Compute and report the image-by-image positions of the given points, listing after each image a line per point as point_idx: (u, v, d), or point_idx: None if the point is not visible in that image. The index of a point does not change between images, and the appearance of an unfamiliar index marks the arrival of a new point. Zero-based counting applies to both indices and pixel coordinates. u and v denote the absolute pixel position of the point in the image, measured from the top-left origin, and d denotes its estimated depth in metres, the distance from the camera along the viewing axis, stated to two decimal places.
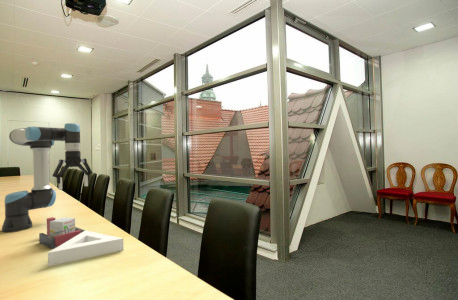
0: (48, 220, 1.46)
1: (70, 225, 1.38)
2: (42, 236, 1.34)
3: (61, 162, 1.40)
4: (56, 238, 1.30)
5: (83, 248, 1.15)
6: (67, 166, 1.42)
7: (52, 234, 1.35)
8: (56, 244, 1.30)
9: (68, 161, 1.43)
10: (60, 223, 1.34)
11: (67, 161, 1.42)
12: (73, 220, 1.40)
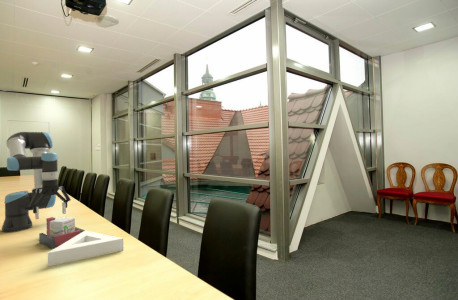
0: (48, 220, 1.46)
1: (70, 224, 1.38)
2: (42, 236, 1.34)
3: (37, 192, 1.41)
4: (56, 238, 1.30)
5: (83, 248, 1.15)
6: (44, 195, 1.43)
7: (51, 234, 1.35)
8: (56, 244, 1.30)
9: (45, 190, 1.44)
10: (60, 223, 1.34)
11: (44, 190, 1.44)
12: (73, 220, 1.40)
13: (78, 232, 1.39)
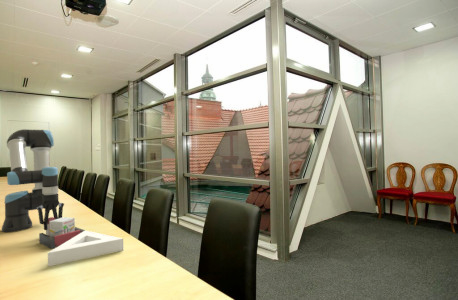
0: (48, 220, 1.46)
1: (70, 224, 1.39)
2: (42, 236, 1.34)
3: (40, 210, 1.42)
4: (56, 238, 1.30)
5: (83, 248, 1.15)
6: (47, 211, 1.45)
7: (51, 234, 1.35)
8: (56, 244, 1.30)
9: (45, 205, 1.44)
10: (60, 223, 1.34)
11: (44, 205, 1.44)
12: (73, 220, 1.41)
13: (78, 232, 1.39)
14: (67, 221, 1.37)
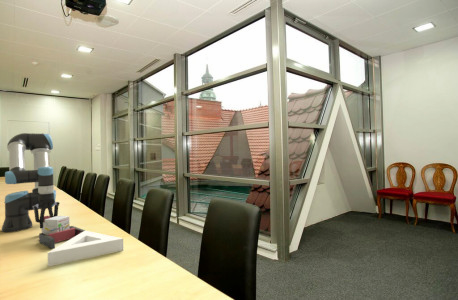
0: None
1: (64, 223, 1.42)
2: (42, 236, 1.34)
3: (35, 208, 1.46)
4: None
5: (83, 248, 1.15)
6: (43, 210, 1.48)
7: (46, 232, 1.39)
8: None
9: (41, 204, 1.48)
10: (54, 221, 1.38)
11: (40, 204, 1.48)
12: (67, 218, 1.44)
13: (72, 230, 1.43)
14: (62, 219, 1.41)
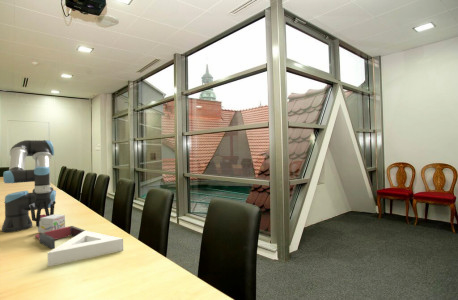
0: None
1: (60, 221, 1.46)
2: (42, 236, 1.34)
3: (32, 207, 1.49)
4: (46, 234, 1.37)
5: (83, 248, 1.15)
6: (39, 209, 1.52)
7: (42, 230, 1.42)
8: None
9: (37, 203, 1.51)
10: (50, 219, 1.41)
11: (36, 203, 1.51)
12: (63, 217, 1.48)
13: (68, 228, 1.46)
14: (57, 218, 1.44)
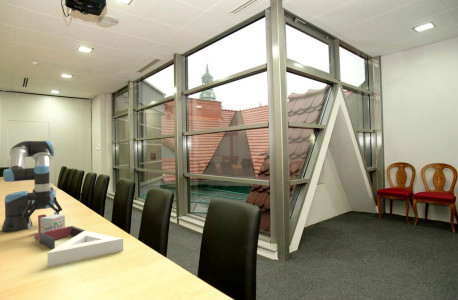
0: (39, 217, 1.53)
1: (60, 221, 1.46)
2: (42, 236, 1.34)
3: (30, 203, 1.48)
4: (46, 234, 1.37)
5: (83, 248, 1.15)
6: (36, 206, 1.50)
7: (42, 230, 1.42)
8: None
9: (37, 201, 1.51)
10: (50, 219, 1.41)
11: (36, 201, 1.51)
12: (63, 217, 1.48)
13: (68, 228, 1.46)
14: (57, 218, 1.44)
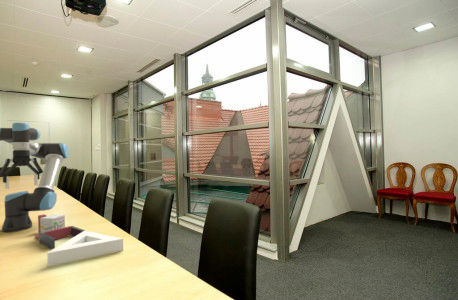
0: (39, 217, 1.53)
1: (60, 221, 1.46)
2: (42, 236, 1.34)
3: (8, 161, 1.40)
4: (46, 234, 1.37)
5: (83, 248, 1.15)
6: (14, 165, 1.42)
7: (42, 230, 1.42)
8: None
9: (16, 160, 1.43)
10: (50, 219, 1.41)
11: (14, 160, 1.42)
12: (63, 217, 1.48)
13: (68, 228, 1.46)
14: (57, 218, 1.44)
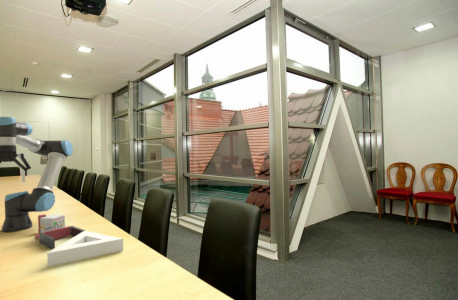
0: (39, 217, 1.53)
1: (60, 221, 1.46)
2: (42, 236, 1.34)
3: None
4: (46, 234, 1.37)
5: (83, 248, 1.15)
6: None
7: (42, 230, 1.42)
8: None
9: (1, 156, 1.38)
10: (50, 219, 1.41)
11: (0, 156, 1.37)
12: (63, 217, 1.48)
13: (68, 228, 1.46)
14: (57, 218, 1.44)
